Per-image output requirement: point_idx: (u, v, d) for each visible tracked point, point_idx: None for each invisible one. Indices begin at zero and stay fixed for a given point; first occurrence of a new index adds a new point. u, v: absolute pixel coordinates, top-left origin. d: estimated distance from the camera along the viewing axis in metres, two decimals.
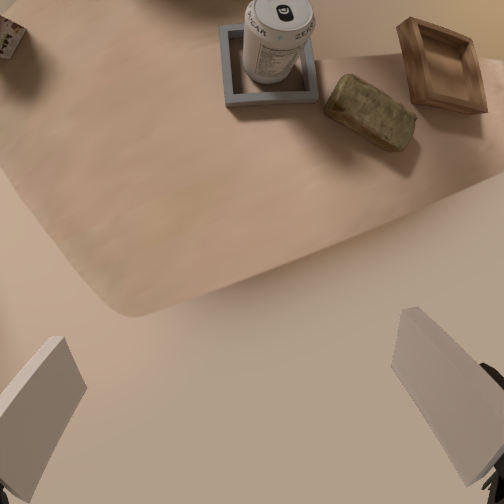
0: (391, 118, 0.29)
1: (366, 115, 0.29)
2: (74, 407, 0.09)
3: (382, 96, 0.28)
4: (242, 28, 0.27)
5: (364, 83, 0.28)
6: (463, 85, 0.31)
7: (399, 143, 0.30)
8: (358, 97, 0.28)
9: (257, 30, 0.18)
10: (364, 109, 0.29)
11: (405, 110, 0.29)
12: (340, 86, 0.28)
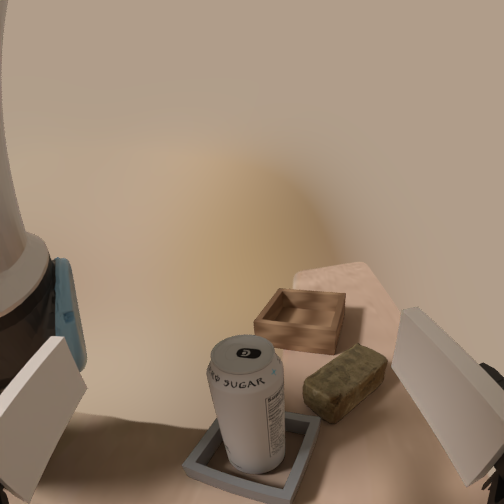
0: (356, 361, 0.33)
1: (350, 378, 0.30)
2: (74, 407, 0.09)
3: (334, 362, 0.33)
4: (202, 449, 0.24)
5: (318, 372, 0.32)
6: (319, 312, 0.53)
7: (380, 360, 0.32)
8: (331, 380, 0.30)
9: (253, 386, 0.19)
10: (344, 379, 0.30)
11: (350, 349, 0.35)
12: (315, 391, 0.29)
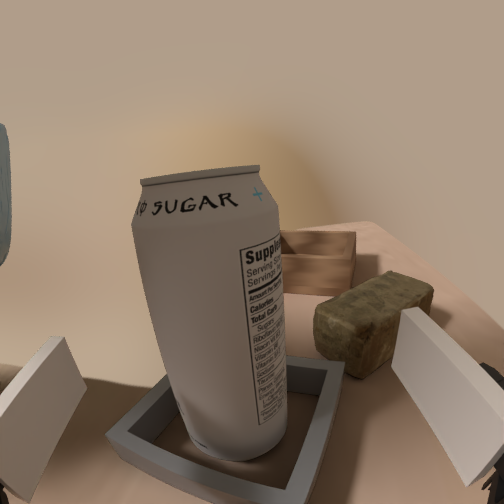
0: (391, 286, 0.23)
1: (385, 304, 0.20)
2: (74, 407, 0.09)
3: (360, 287, 0.23)
4: (142, 411, 0.14)
5: (337, 297, 0.22)
6: (324, 256, 0.43)
7: (425, 287, 0.22)
8: (357, 306, 0.20)
9: (211, 208, 0.09)
10: (376, 305, 0.20)
11: (381, 275, 0.25)
12: (332, 320, 0.20)
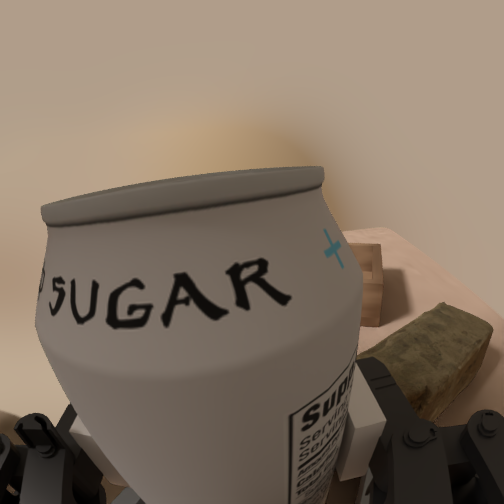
0: (447, 328, 0.16)
1: (442, 357, 0.13)
2: None
3: (410, 328, 0.17)
4: None
5: (382, 344, 0.16)
6: None
7: (484, 328, 0.15)
8: (408, 359, 0.14)
9: (205, 322, 0.03)
10: (431, 357, 0.14)
11: (433, 309, 0.18)
12: None
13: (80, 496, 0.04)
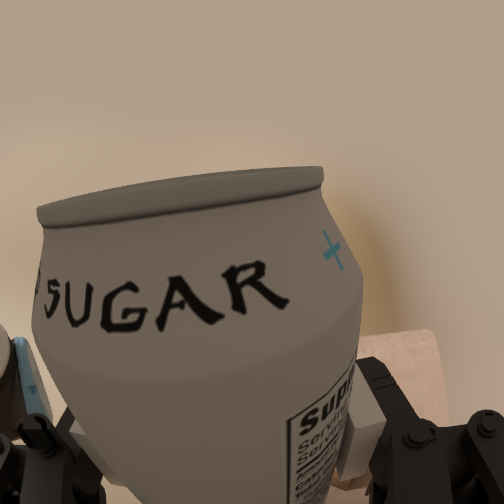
0: None
1: None
2: None
3: None
4: None
5: None
6: None
7: None
8: None
9: (201, 326, 0.03)
10: None
11: None
12: None
13: (80, 496, 0.04)
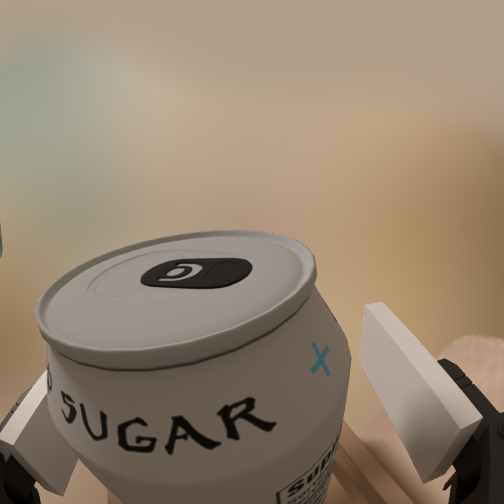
0: None
1: None
2: None
3: None
4: None
5: None
6: None
7: None
8: None
9: (202, 450, 0.03)
10: None
11: None
12: None
13: (16, 496, 0.03)
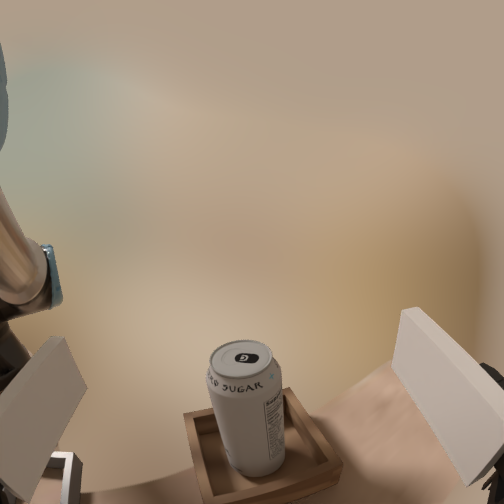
0: None
1: None
2: (74, 407, 0.09)
3: None
4: None
5: None
6: (305, 455, 0.25)
7: None
8: None
9: (251, 390, 0.19)
10: None
11: None
12: None
13: None
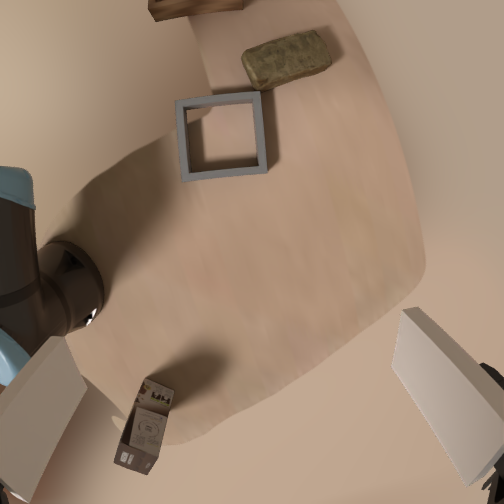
0: (300, 50, 0.30)
1: (284, 66, 0.30)
2: (74, 407, 0.09)
3: (279, 43, 0.29)
4: (185, 159, 0.35)
5: (259, 48, 0.30)
6: None
7: (324, 60, 0.30)
8: (266, 61, 0.30)
9: None
10: (278, 64, 0.30)
11: (303, 34, 0.29)
12: (248, 66, 0.31)
13: None
